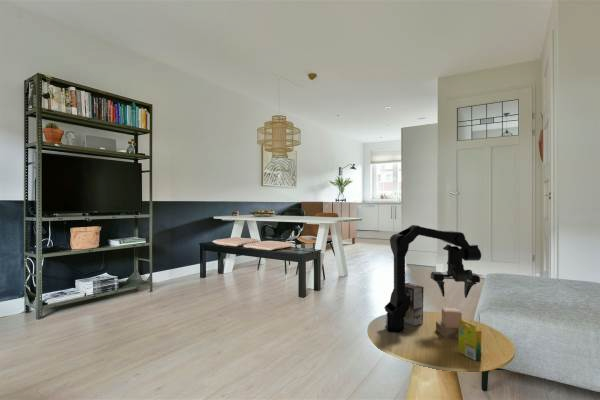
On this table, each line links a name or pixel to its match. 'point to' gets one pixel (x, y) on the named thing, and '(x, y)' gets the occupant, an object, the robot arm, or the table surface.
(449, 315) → the pink cube
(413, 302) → the coffee box
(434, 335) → the table surface
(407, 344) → the table surface
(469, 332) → the crayon box
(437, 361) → the table surface
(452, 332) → the walnut block
